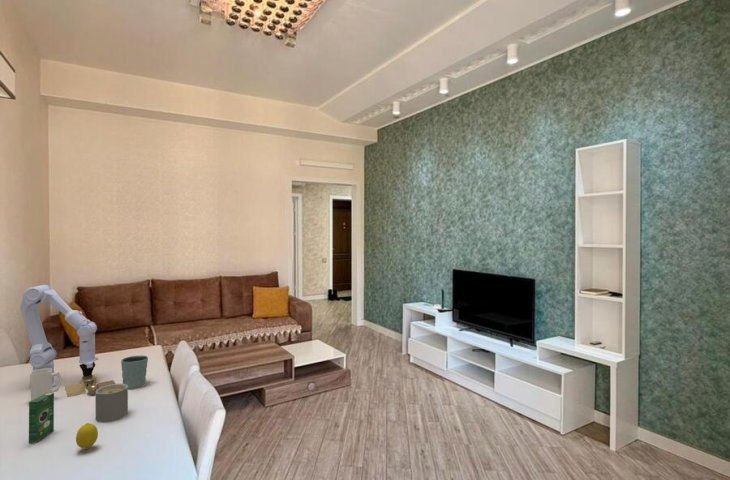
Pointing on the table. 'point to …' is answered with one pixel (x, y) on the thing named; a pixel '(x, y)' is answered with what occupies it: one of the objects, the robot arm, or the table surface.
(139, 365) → the teal cup
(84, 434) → the lemon
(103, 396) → the coffee mug
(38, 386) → the mug
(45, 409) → the coffee box
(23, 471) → the table surface
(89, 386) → the bronze leaf with pin
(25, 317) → the robot arm
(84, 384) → the brass leaf
